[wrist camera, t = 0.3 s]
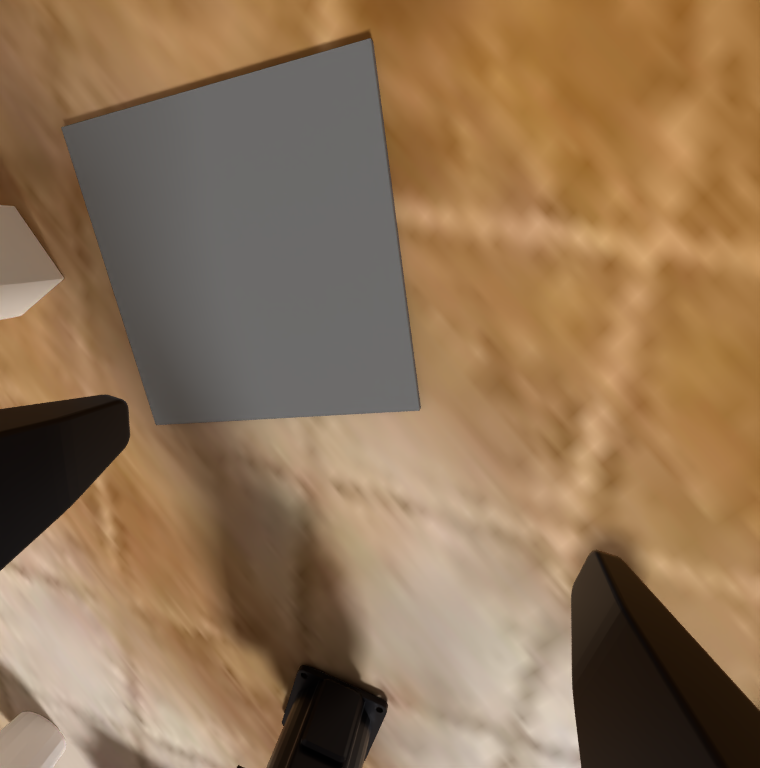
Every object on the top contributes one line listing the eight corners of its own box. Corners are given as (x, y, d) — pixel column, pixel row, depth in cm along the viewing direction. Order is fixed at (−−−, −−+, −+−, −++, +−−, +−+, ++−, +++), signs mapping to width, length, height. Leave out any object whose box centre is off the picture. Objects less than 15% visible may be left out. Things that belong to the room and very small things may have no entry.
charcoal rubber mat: (420, 407, 23) (419, 410, 22) (160, 422, 27) (156, 424, 26) (373, 41, 18) (370, 38, 18) (68, 129, 22) (61, 127, 22)
